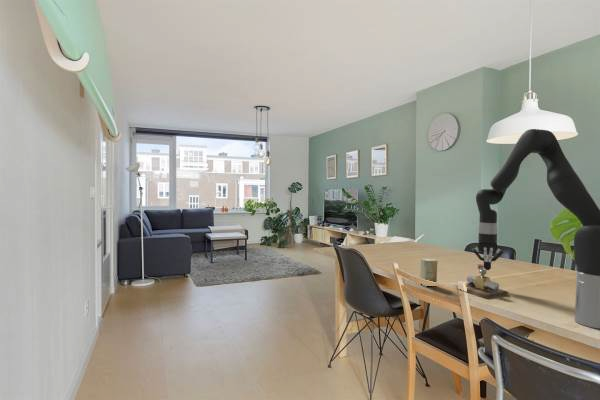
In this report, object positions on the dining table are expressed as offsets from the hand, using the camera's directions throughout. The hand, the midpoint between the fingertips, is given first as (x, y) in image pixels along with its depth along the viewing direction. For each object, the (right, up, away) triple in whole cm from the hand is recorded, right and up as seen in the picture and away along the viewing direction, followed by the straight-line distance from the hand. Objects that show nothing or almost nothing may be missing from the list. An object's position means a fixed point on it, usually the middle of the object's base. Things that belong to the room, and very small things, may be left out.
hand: (487, 269), depth 154 cm
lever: (-5, 0, -4) cm, 6 cm away
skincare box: (-27, -8, +1) cm, 28 cm away
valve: (-7, -7, -9) cm, 13 cm away
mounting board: (-7, -8, -8) cm, 13 cm away
